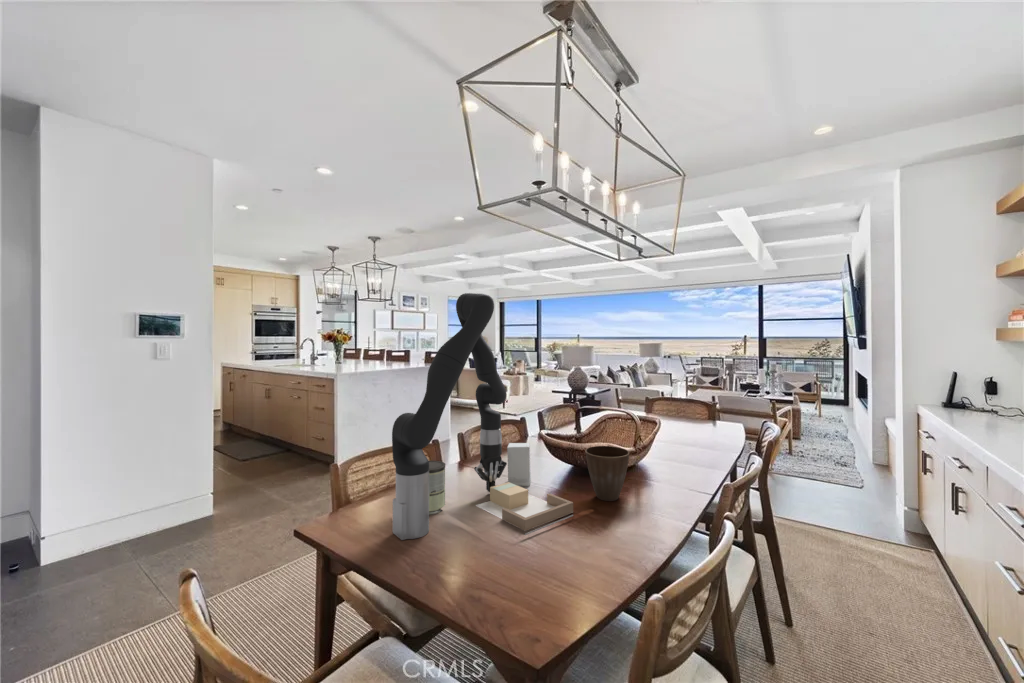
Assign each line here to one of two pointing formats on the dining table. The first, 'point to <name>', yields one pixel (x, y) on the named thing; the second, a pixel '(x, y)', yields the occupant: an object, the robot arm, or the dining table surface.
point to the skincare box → (519, 464)
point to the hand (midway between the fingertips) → (490, 491)
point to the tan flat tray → (532, 512)
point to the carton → (509, 495)
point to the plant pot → (607, 470)
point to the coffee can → (436, 486)
